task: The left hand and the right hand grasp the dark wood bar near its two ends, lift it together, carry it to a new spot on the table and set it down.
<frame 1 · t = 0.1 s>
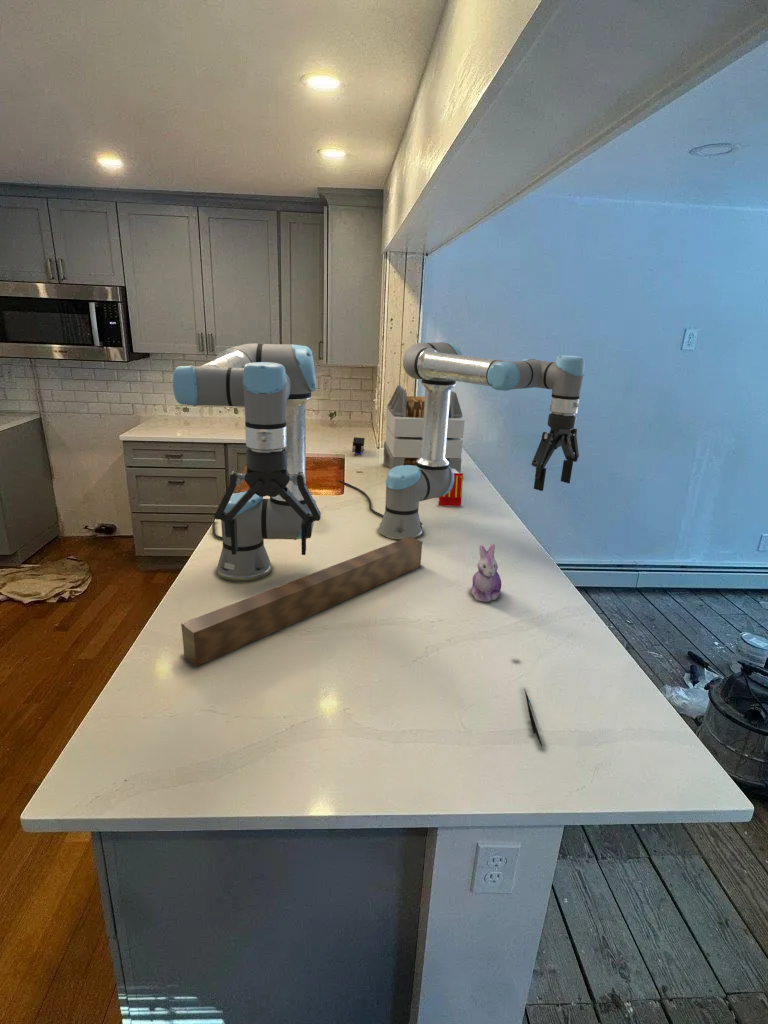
left hand: (269, 552, 113), 28 cm above the counter, tool pointing down, fingers open, 13 cm apart
right hand: (552, 485, 166), 28 cm above the counter, tool pointing down, fingers open, 13 cm apart
figurine character: (358, 453, 307), on the counter
bar: (321, 604, 151), on the counter
toy: (445, 496, 243), on the counter
transformer: (419, 473, 275), on the counter
figurine: (485, 595, 159), on the counter
feather: (526, 700, 117), on the counter
fossil: (292, 516, 212), on the counter
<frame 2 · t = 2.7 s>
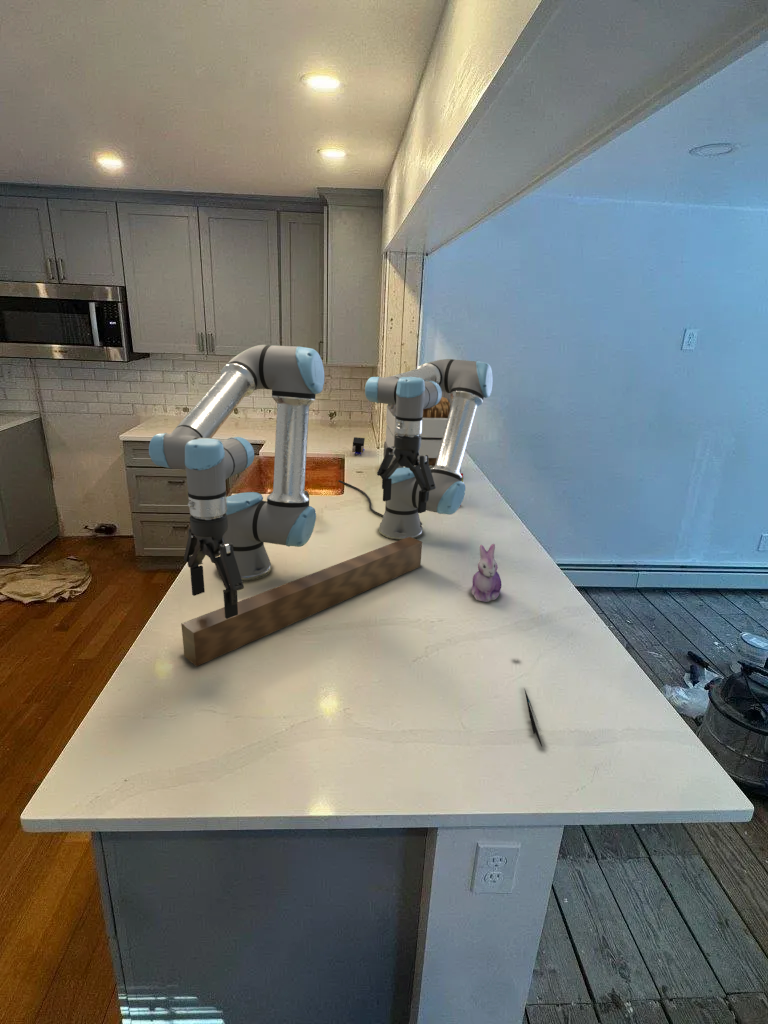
left hand: (214, 604, 125), 12 cm above the counter, tool pointing down, fingers open, 13 cm apart
right hand: (403, 506, 165), 21 cm above the counter, tool pointing down, fingers open, 13 cm apart
nothing on the counter moved.
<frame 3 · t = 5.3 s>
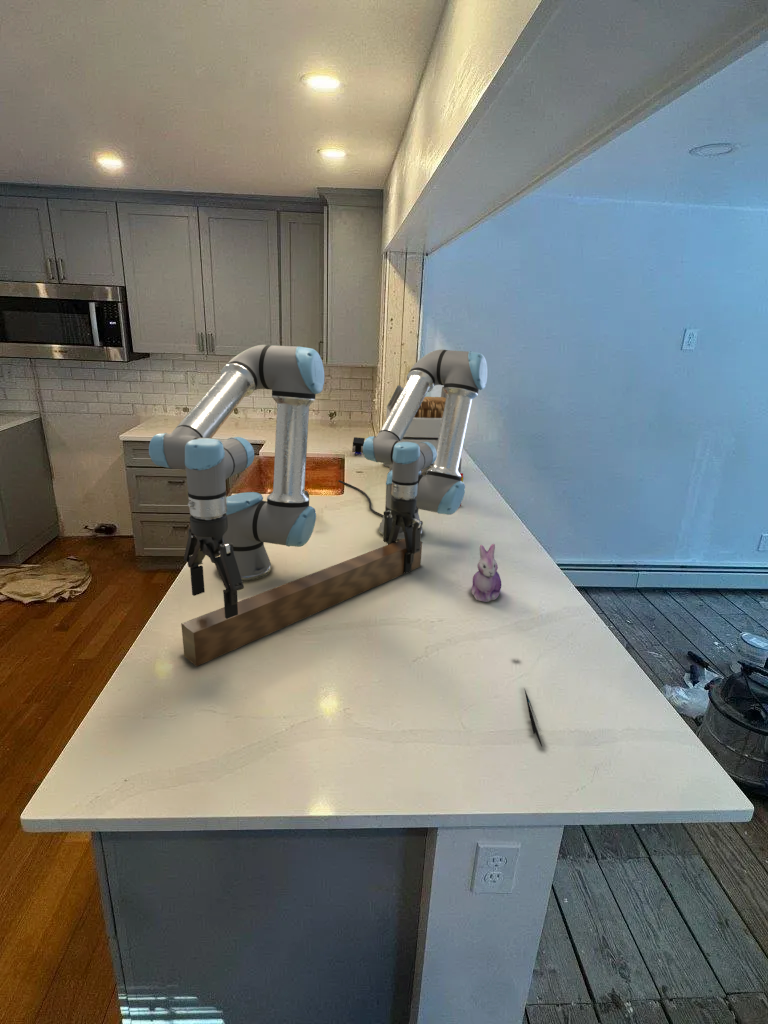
left hand: (214, 604, 125), 12 cm above the counter, tool pointing down, fingers open, 13 cm apart
right hand: (399, 568, 172), 1 cm above the counter, tool pointing down, fingers closed on bar, 5 cm apart
bar: (321, 604, 151), on the counter, touching right hand
everything else where it was.
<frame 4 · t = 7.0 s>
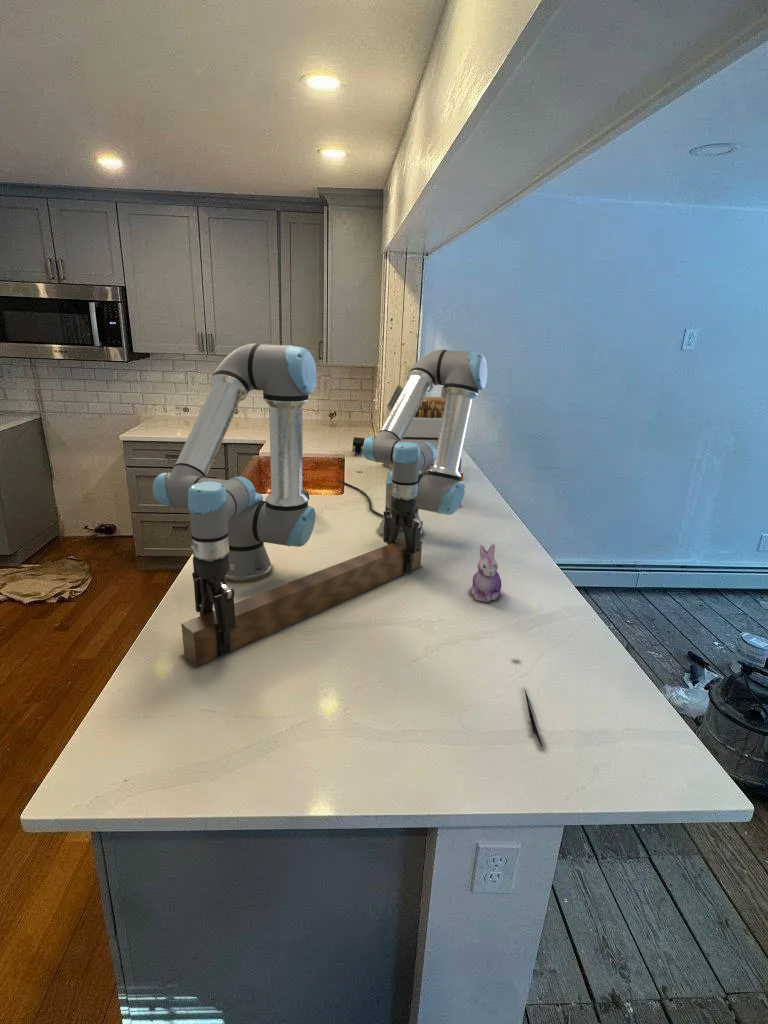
left hand: (217, 647, 129), 0 cm above the counter, tool pointing down, fingers closed on bar, 5 cm apart
right hand: (399, 568, 172), 1 cm above the counter, tool pointing down, fingers closed on bar, 5 cm apart
bar: (321, 604, 151), on the counter, touching right hand, left hand
everything else where it was.
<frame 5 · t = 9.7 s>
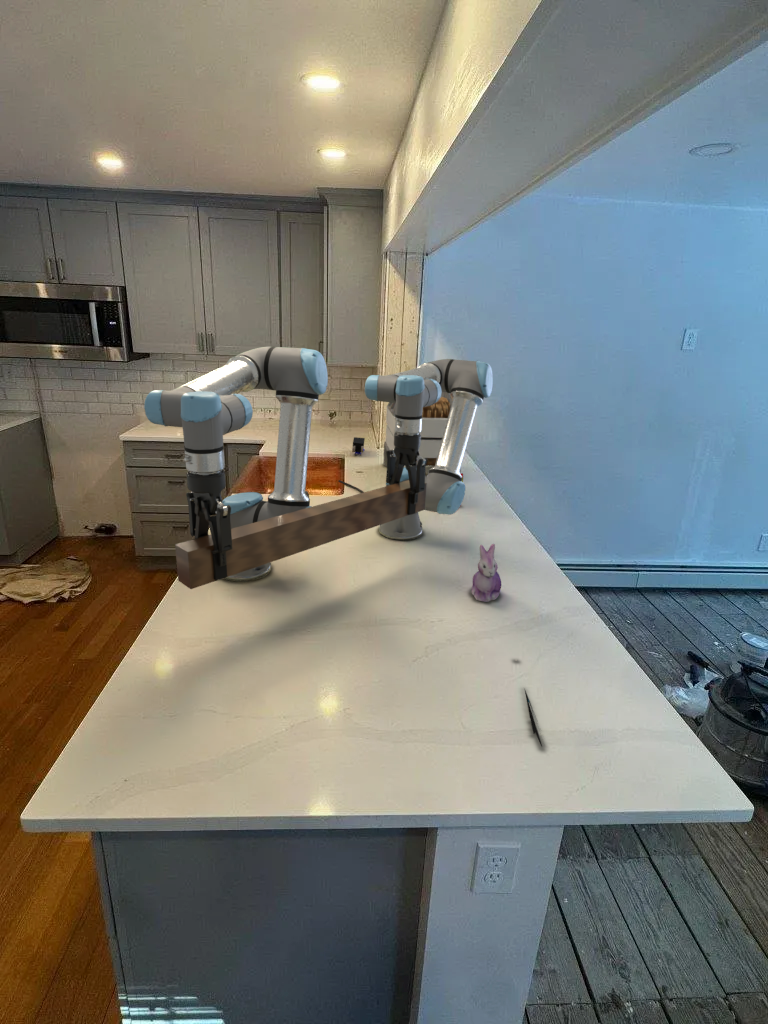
left hand: (213, 573, 123), 19 cm above the counter, tool pointing down, fingers closed on bar, 5 cm apart
right hand: (403, 510, 166), 19 cm above the counter, tool pointing down, fingers closed on bar, 5 cm apart
bar: (322, 539, 145), point 19 cm above the counter, touching right hand, left hand
everything else where it was.
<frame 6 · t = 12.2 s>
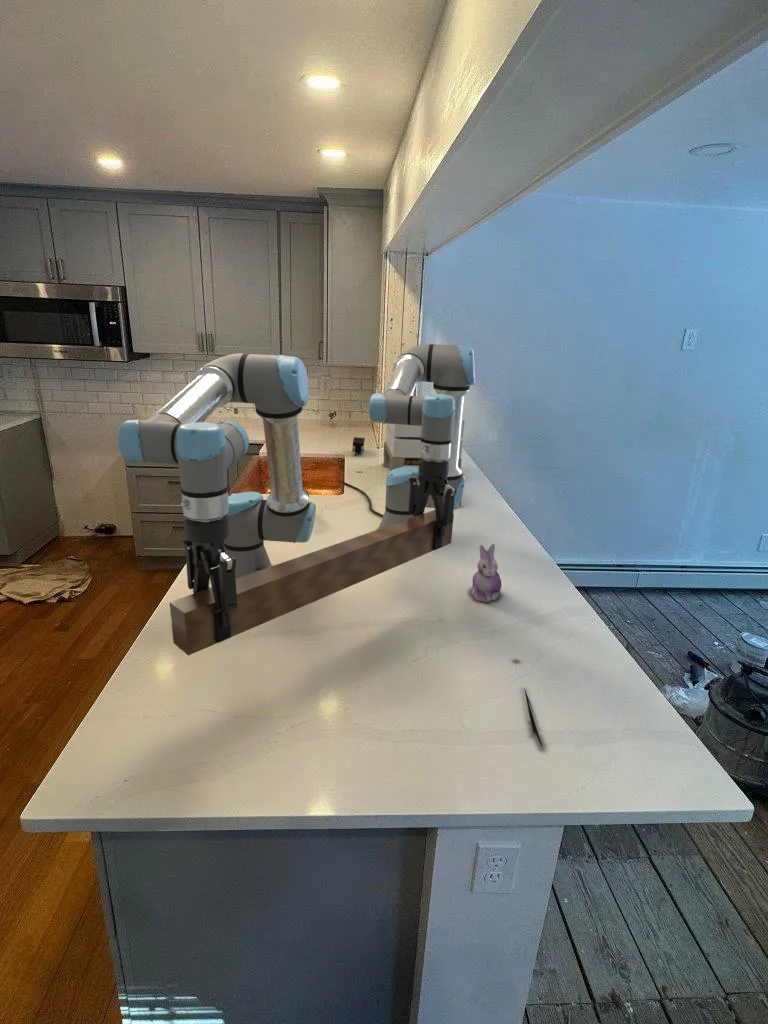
left hand: (214, 632, 105), 17 cm above the counter, tool pointing down, fingers closed on bar, 5 cm apart
right hand: (427, 544, 148), 17 cm above the counter, tool pointing down, fingers closed on bar, 5 cm apart
bar: (339, 583, 126), point 17 cm above the counter, touching right hand, left hand
everything else where it was.
when the left hand's fingers open (2 cm above the counter, at t = 14.3 s): bar drops 1 cm, on the counter.
when the right hand's fingers open (2 cm above the counter, at t = 14.3 s): bar drops 1 cm, on the counter.
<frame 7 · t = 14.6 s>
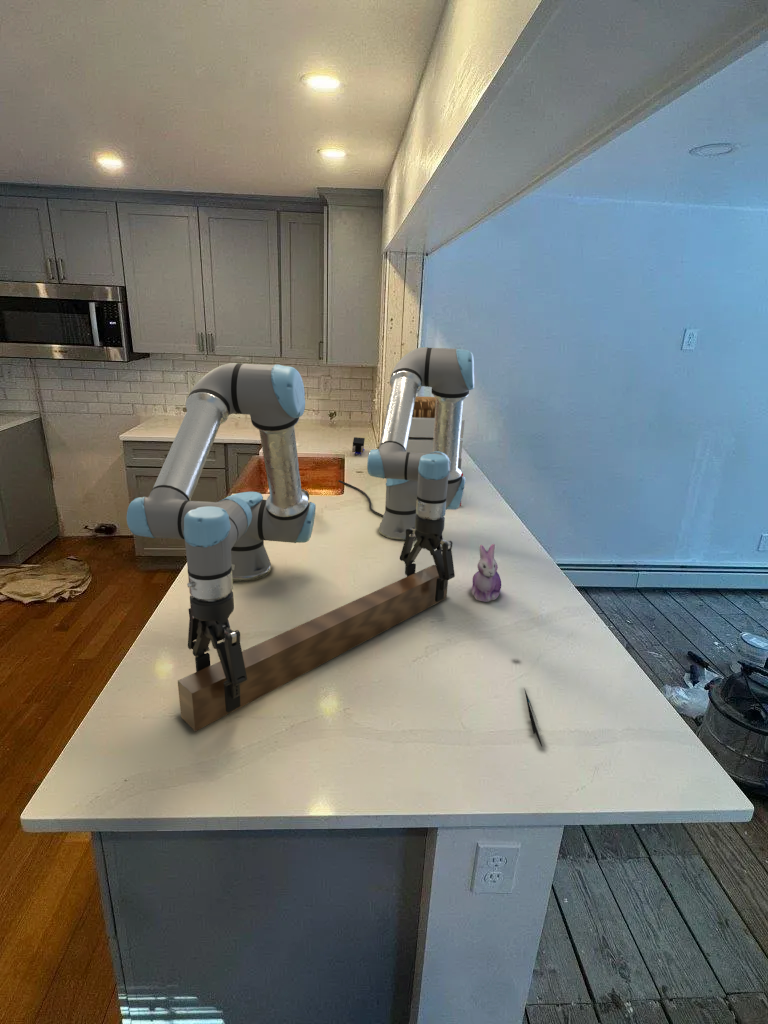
left hand: (218, 695, 109), 3 cm above the counter, tool pointing down, fingers open, 9 cm apart
right hand: (424, 593, 153), 3 cm above the counter, tool pointing down, fingers open, 9 cm apart
bar: (338, 646, 132), on the counter
everything else where it was.
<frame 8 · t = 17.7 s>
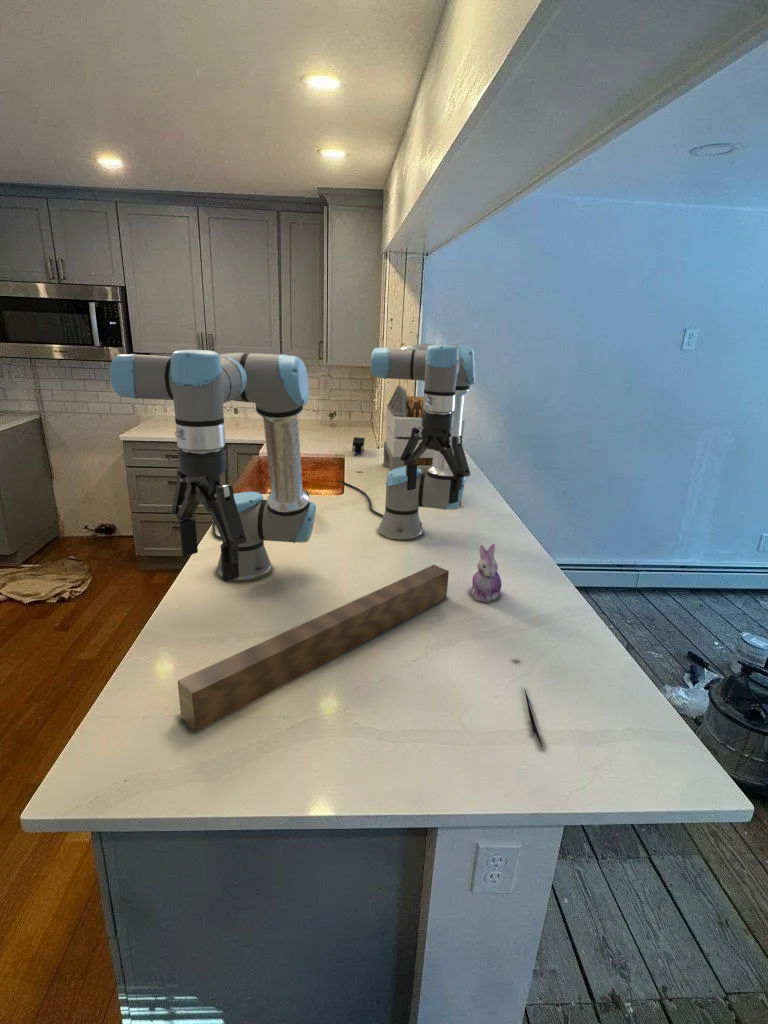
left hand: (209, 566, 100), 31 cm above the counter, tool pointing down, fingers open, 13 cm apart
right hand: (431, 495, 143), 31 cm above the counter, tool pointing down, fingers open, 13 cm apart
nothing on the counter moved.
at the end: bar inside the target area (0.0 cm from its centre), on the counter; bar tilted 0°; bar never tilted more than 1° during the clip; both hands held the bar at the same time; the left hand is holding nothing; the right hand is holding nothing; bar at rest at the end (0.0 cm/s) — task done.
